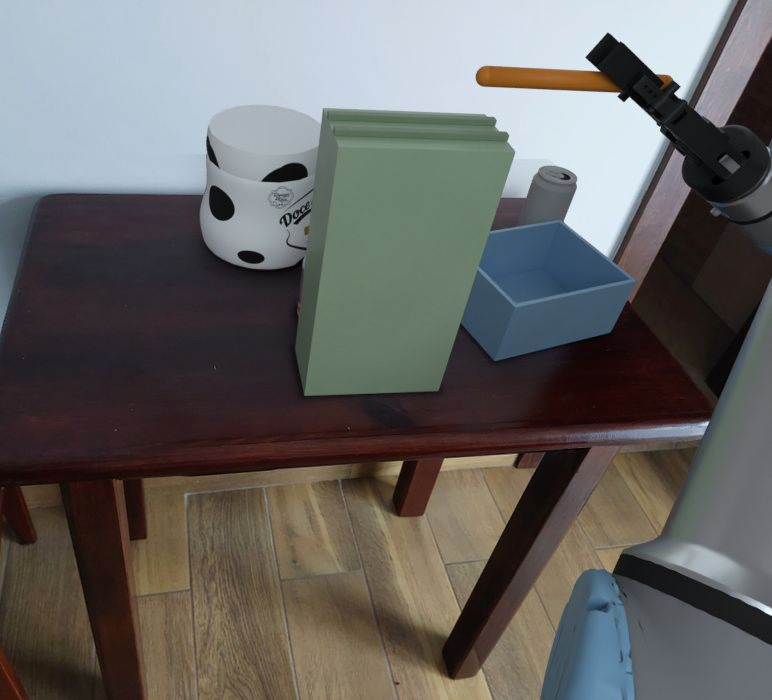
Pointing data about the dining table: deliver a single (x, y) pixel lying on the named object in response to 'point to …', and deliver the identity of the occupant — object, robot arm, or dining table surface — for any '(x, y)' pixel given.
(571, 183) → the beverage can
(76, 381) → the dining table surface
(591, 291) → the bin
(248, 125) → the doce de leite jar
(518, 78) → the orange round-ended rod
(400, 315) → the stand
